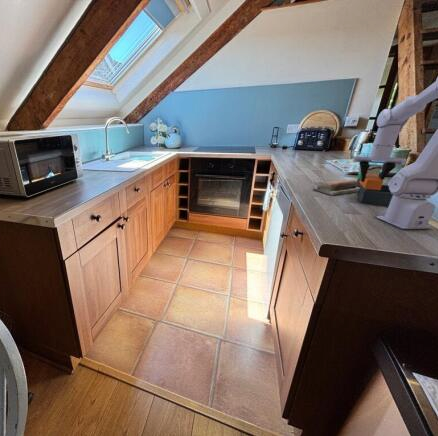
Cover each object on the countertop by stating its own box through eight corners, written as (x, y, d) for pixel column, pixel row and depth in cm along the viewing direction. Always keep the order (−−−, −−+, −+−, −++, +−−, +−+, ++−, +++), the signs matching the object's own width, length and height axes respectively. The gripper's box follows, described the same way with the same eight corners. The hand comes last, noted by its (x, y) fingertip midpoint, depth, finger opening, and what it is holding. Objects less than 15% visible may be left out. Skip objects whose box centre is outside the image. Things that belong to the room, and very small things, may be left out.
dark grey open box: (401, 207, 91) (406, 195, 89) (360, 202, 97) (365, 190, 95) (393, 197, 102) (397, 186, 100) (357, 193, 108) (361, 182, 106)
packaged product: (335, 185, 103) (314, 180, 112) (332, 196, 105) (311, 190, 114) (365, 181, 108) (343, 176, 117) (362, 191, 110) (340, 186, 119)
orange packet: (380, 190, 89) (383, 180, 87) (364, 188, 91) (367, 179, 89) (373, 183, 97) (376, 174, 96) (359, 182, 99) (362, 173, 98)
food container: (362, 182, 124) (368, 163, 120) (376, 185, 119) (383, 165, 115) (346, 185, 120) (353, 165, 116) (361, 188, 115) (368, 167, 111)
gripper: (407, 144, 88) (393, 181, 93) (356, 143, 95) (345, 177, 100) (413, 147, 82) (398, 186, 87) (359, 145, 89) (348, 181, 94)
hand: (370, 181), depth 93 cm, fingers closed on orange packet, 4 cm apart
